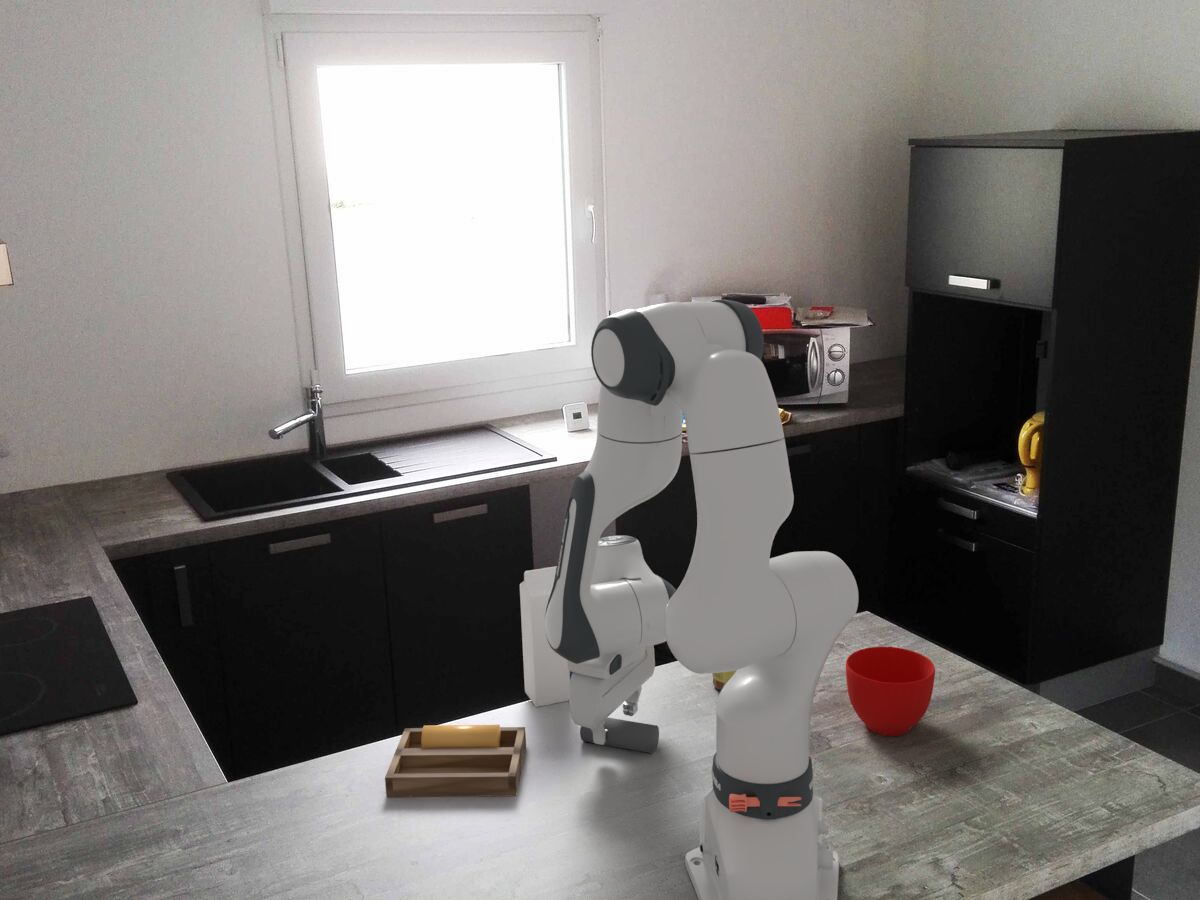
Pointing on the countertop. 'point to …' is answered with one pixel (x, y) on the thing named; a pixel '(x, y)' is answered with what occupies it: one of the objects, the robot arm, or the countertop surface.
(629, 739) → the charcoal rod
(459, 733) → the orange rod
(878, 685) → the ceramic cup
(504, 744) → the slot rack
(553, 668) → the milk
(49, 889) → the countertop surface
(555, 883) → the countertop surface
